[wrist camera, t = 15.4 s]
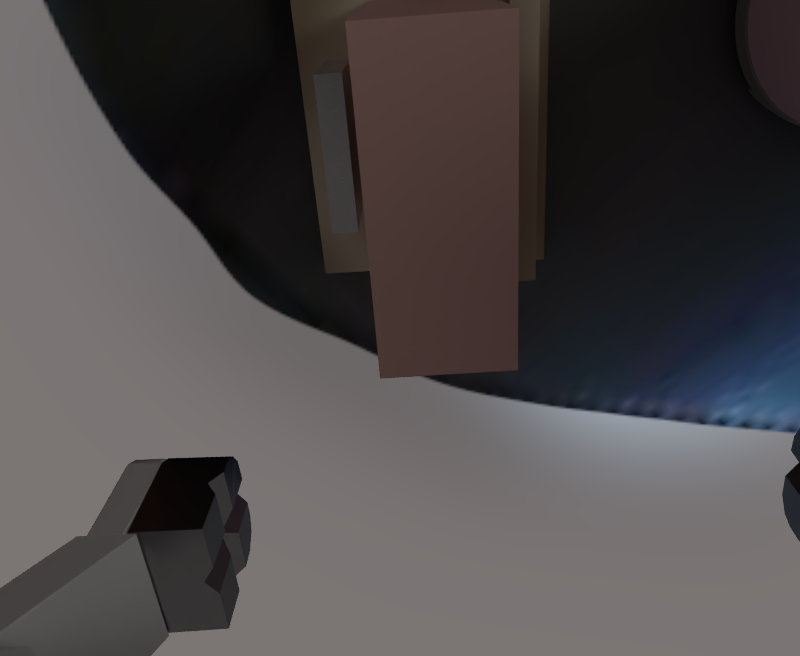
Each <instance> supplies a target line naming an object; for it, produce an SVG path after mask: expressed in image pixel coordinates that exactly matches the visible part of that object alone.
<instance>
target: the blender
mask: <svg viewBox="0 0 800 656" xmlns="http://www.w3.org/2000/svg"><path fill="white" fill-rule="evenodd" d="M735 40H736V49H737V54H738V58H739V62H740V65H741V68H742V71H743V74H744V76H745V78H746V80H747V82H748V84H749V86H750V88H749V89H748V90H749V92H750V93H751V95H752V96H753V97H754V98H755V99H756V100H757V101H758V102H759V103H760V104H761V105H763V106H764V107H765V108H767V109H768V110H770V111H771V112H773V113H774V114H776V115H777V116H779V117H780V118H782V119H784V120H786V121H787V122H790V123H792V124H795V125H797V126H799V127H800V0H738V1H737V7H736V16H735Z"/></svg>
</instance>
